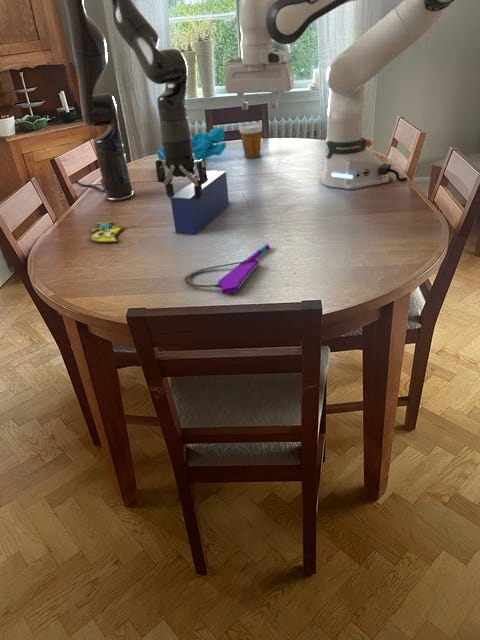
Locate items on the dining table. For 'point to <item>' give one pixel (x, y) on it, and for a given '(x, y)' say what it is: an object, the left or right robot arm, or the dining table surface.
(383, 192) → the dining table surface
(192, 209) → the box
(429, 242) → the dining table surface
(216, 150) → the toy
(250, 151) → the glass of beer
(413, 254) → the dining table surface
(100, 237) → the toy
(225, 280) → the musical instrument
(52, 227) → the dining table surface
